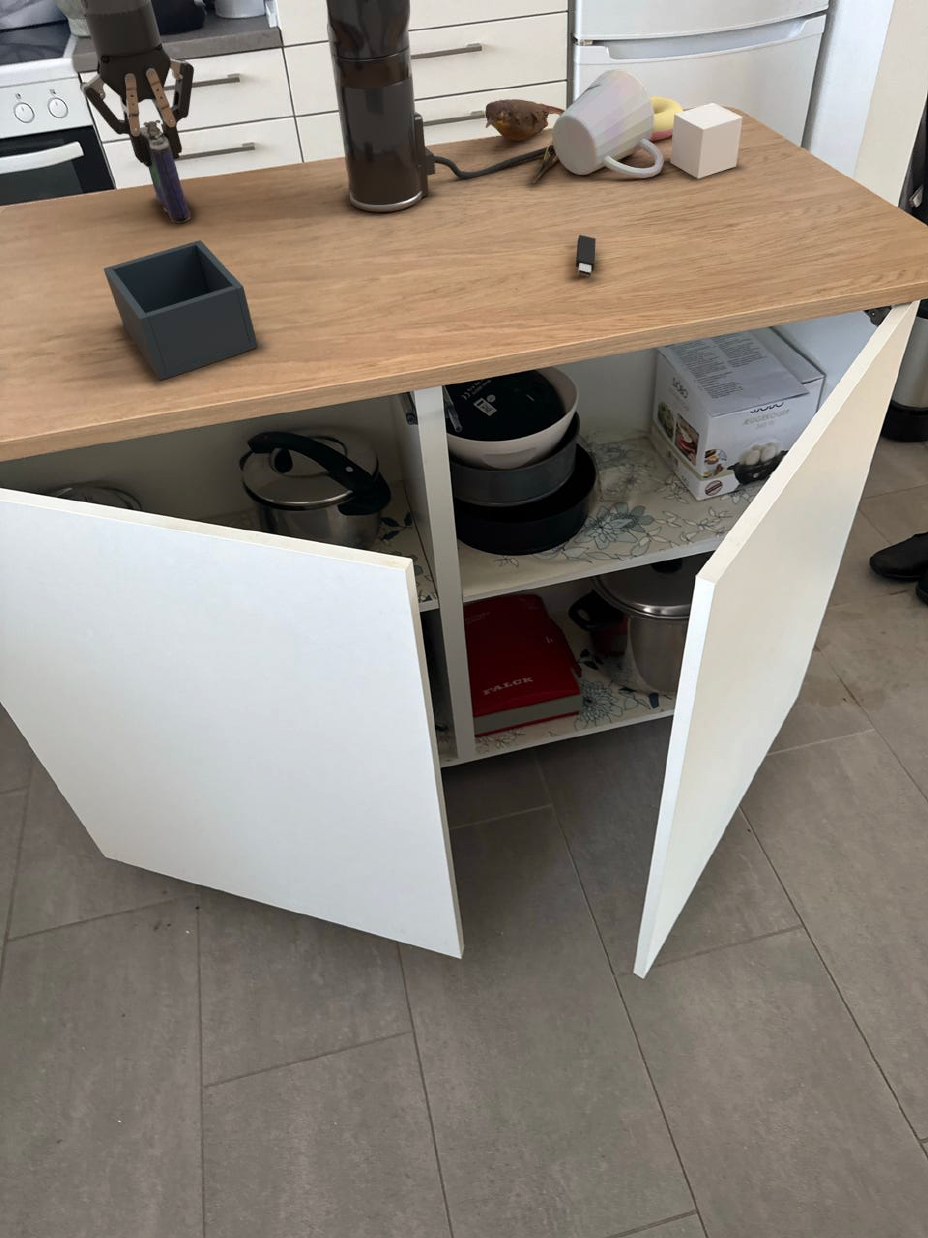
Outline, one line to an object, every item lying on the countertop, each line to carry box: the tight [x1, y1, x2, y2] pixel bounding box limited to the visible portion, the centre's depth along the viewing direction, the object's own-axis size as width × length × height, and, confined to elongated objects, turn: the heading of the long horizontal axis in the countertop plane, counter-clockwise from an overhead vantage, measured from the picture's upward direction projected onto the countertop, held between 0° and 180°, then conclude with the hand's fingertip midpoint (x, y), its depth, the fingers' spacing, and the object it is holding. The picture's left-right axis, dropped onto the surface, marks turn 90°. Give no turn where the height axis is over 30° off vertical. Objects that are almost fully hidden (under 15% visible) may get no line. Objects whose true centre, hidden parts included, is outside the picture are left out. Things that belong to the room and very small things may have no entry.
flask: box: [140, 119, 191, 224], centre depth 118 cm, size 9×3×11 cm, turn 27°
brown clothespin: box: [533, 140, 559, 184], centre depth 125 cm, size 12×3×1 cm, turn 157°
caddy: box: [103, 239, 259, 381], centre depth 97 cm, size 11×13×7 cm
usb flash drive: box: [575, 234, 597, 277], centre depth 106 cm, size 8×2×1 cm, turn 173°
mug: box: [551, 68, 665, 179], centre depth 121 cm, size 10×15×10 cm
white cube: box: [669, 102, 744, 179], centre depth 120 cm, size 6×6×6 cm
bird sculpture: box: [484, 98, 566, 142], centre depth 131 cm, size 7×25×5 cm, turn 150°
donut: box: [649, 96, 685, 142], centre depth 130 cm, size 10×5×9 cm
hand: (160, 160), depth 118 cm, fingers closed on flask, 3 cm apart
